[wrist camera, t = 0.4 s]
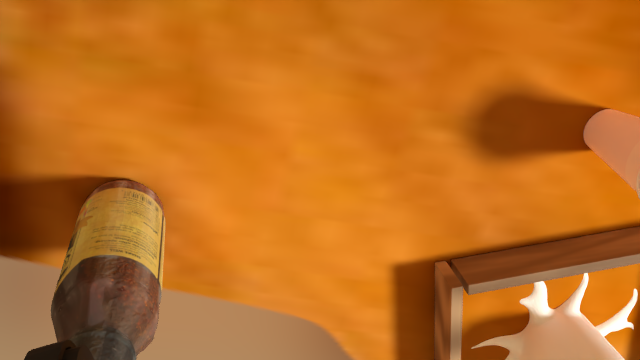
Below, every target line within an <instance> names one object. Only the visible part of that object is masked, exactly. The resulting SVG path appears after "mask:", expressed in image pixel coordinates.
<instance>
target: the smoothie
mask: <svg viewBox="0 0 640 360" xmlns="http://www.w3.org/2000/svg"><path fill="white" fill-rule="evenodd" d="M583 136H584V141H585V143H586V145H587V146H588V147H589V148H590V149H592V150H593V151H594V152H595V153H596V154H597V155H598V156H599V157H600V158H601V159H602V160H603V161H604V162H605V163H607V164H608V165H609V166H610V167H611V168H612V169H613V170H614V171H615V172H616V173H617V174H618V175H619V176H620V177H621V178H623V179H624V180H625V181H626V182H627V183H628V184H629V185H630V186H631V187H632V188H633V189H634V190H635V191H636V192H637V194H638V197H639V199H640V117H637V116H633V115H630V114H627V113H623V112H620V111H617V110H613V109H605V110H601V111H599V112H597V113H596V114H594V115H593V116H592V117H591V118H590V119H589V121H588V122H587V124H586V126H585V129H584V134H583Z"/></svg>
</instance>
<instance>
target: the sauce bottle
mask: <svg viewBox="0 0 640 360" xmlns="http://www.w3.org/2000/svg"><path fill="white" fill-rule="evenodd" d="M164 240H165V216H164V212H163V205H162V202H161V201H160V199H159V198H158V196H157V195H156V194H155V193H154V192H153V191H152V190H150V189H148V188H147V187H146V186H144V185H143V184H140V183H138V182H135V181H130V180H116V181H110V182H107V183H104V184H102V185H100V186H99V187H97V188H96V189H95V190H94V191H93V192H92V193H91V195H89V196H88V197H87V199H86V201H85V203H84V204H83V206H82V207H81V210H80V212H79V215H78V218H77V222H76V225H75V228H74V231H73V235H72V238H71V241H70V244H69V247H68V251H67V254H66V257H65V260H64V264H63V267H62V270H61V274H60V277H59V280H58V283H57V287H56V290H55V293H54V297H53V300H52V305H51V318H52V321H53V325H54V329H55V334H56V338H57V342H60V341H64V340H71V341H72V342H73V343H74V344H75V345H76V347H78V346H81V345H85V346H87V347H88V349H89V350H90V352H91V354H92V356H93V358H94V360H136V356H137V355H138V354H139V353H140V352H141V351H143V350H144V349H145V348H146V347H147V346H148V345H149V344H150V343H151V342H152V340H153V337H154V334H155V331H156V329H157V324H158V318H159V304H160V301H161V295H162V278H163V260H164Z"/></svg>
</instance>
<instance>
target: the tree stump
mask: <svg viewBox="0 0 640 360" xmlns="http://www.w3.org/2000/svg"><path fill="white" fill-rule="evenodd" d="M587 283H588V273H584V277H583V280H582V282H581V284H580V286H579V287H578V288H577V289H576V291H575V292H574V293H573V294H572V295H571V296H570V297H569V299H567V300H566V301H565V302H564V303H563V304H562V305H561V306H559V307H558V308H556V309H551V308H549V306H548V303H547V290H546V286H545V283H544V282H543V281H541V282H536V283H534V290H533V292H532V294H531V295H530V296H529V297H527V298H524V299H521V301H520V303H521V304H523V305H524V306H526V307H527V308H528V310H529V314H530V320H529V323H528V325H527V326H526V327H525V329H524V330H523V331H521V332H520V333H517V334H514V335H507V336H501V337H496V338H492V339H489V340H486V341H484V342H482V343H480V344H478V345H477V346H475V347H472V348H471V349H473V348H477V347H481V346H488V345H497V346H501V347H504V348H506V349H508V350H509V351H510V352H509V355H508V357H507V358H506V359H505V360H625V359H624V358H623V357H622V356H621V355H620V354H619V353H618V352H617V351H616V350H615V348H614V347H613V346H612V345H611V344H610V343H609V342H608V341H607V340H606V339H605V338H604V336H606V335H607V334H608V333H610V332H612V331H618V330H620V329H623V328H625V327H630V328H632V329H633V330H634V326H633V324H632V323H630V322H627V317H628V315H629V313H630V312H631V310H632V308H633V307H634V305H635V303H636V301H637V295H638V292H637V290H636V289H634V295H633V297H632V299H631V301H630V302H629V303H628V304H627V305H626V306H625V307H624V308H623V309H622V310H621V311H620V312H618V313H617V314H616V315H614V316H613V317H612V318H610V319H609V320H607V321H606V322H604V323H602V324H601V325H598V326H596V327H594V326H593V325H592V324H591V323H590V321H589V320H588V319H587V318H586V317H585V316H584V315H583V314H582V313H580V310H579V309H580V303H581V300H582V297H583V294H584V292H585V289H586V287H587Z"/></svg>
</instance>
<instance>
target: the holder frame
mask: <svg viewBox="0 0 640 360" xmlns="http://www.w3.org/2000/svg"><path fill="white" fill-rule="evenodd" d="M638 263H640V226H638V227H632V228H627V229H621V230H616V231H610V232H604V233H599V234H593V235H587V236H582V237H576V238H570V239H565V240H559V241H553V242H548V243H542V244H537V245H531V246H525V247H520V248H514V249H508V250H503V251H497V252H491V253H486V254H480V255H474V256H469V257H463V258H458V259H452V260H451V268H450V266H449V265H448V263H447V262H446V261H441V262H435V324H434V360H461V340H462V308H463V288H464V289H465V291H466V292H467V294H468V295H471V294H476V293H482V292H487V291H493V290H498V289H503V288H509V287H514V286H519V285H525V284H530V283H536V282H541V281H546V280H552V279H557V278H562V277H568V276H573V275H579V274H584V273H589V272H595V271H600V270H605V269H611V268H616V267H622V266H627V265H632V264H638Z"/></svg>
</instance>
